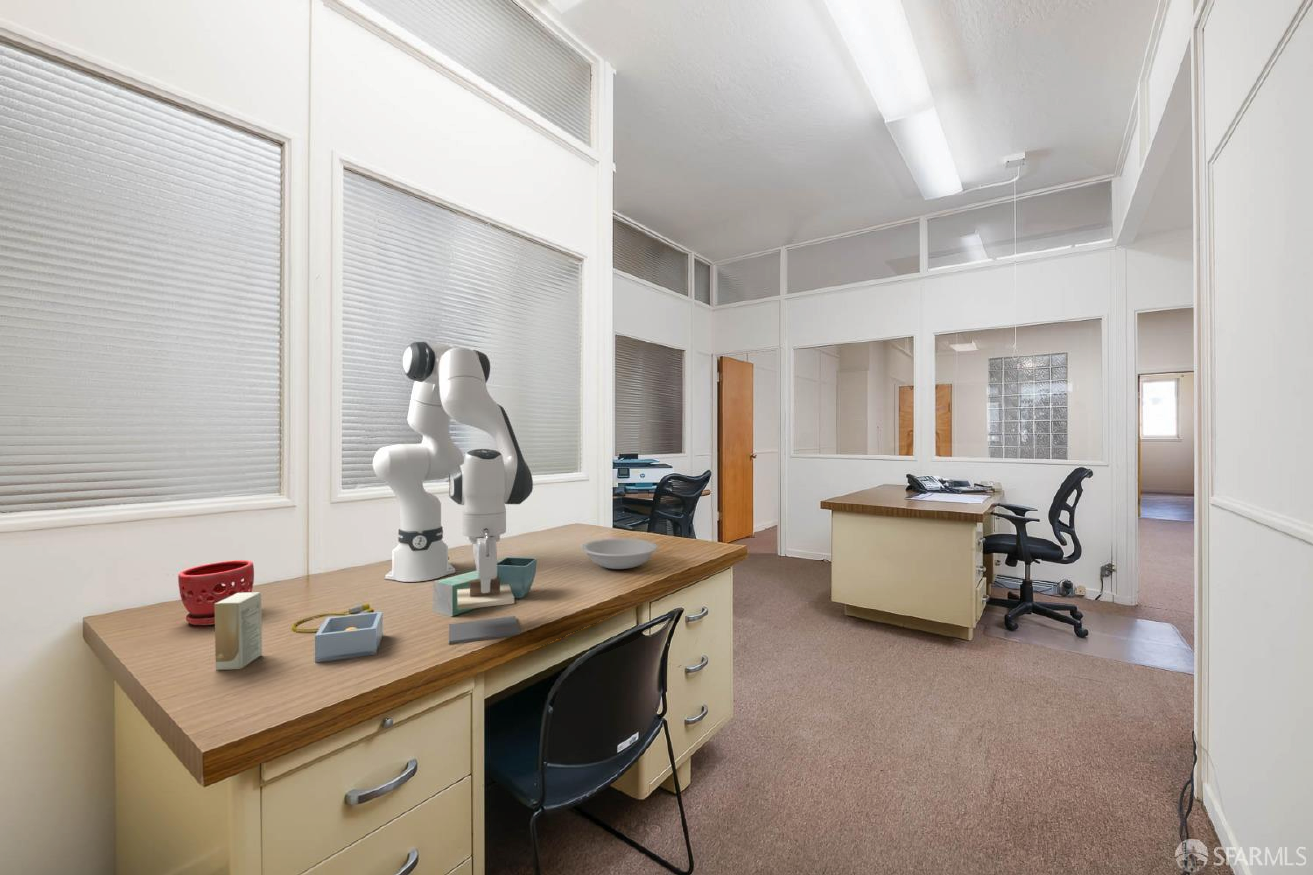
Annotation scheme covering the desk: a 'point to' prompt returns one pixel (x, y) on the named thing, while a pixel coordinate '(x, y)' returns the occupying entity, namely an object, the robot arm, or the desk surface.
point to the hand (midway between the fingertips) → (484, 589)
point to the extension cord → (356, 609)
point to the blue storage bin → (349, 636)
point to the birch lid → (484, 595)
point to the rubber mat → (483, 629)
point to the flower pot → (517, 574)
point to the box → (451, 593)
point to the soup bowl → (619, 552)
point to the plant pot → (213, 587)
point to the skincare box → (238, 630)
